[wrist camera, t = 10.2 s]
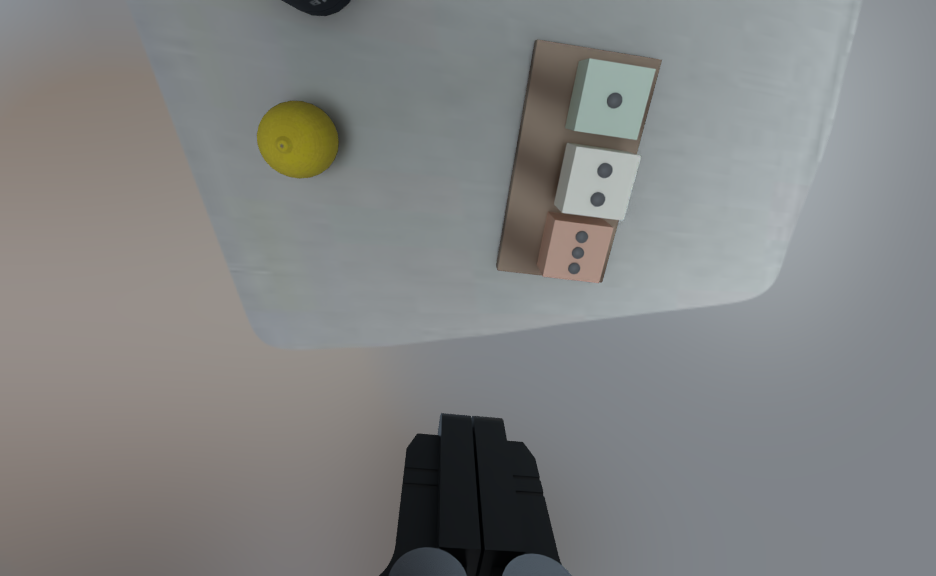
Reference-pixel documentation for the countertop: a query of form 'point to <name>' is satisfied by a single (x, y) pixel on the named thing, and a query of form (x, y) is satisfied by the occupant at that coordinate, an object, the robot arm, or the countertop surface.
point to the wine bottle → (318, 6)
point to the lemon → (297, 139)
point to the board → (551, 148)
